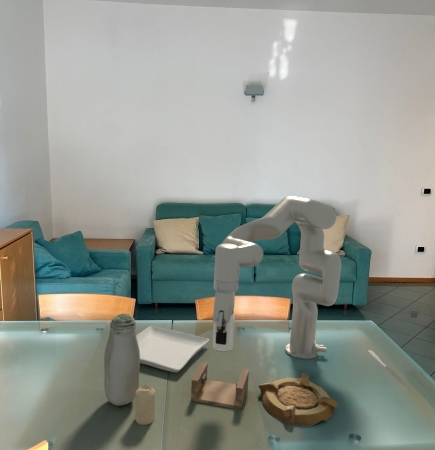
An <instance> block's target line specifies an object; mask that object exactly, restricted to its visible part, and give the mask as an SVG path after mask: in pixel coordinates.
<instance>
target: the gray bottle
mask: <svg viewBox="0 0 435 450" xmlns="http://www.w3.org/2000/svg"><path fill="white" fill-rule="evenodd" d="M109 328H110V329H109V330H110V331H109V334H108V335H109V336H108V339H107V343H106V346H105V349H104V355H103V360H104V362H103V364H104V365H103V368H104V369H103V371H104V372H103V373H104V377H103V378H104V379H103V381H104V392H105V396H106V399H107V400H108V402H110V404H112V405H115V406H117V407H118V406H121V407H122V406H125V405H128V404H130V403H132V402H133V400H134V399H135V397H136V391H137V390H138V389H139V388H140V366H141V365H140V364H141V363H140V350H139V346H138V341H137V338H136V335H137V323H136V319H135V318H134V317H133V316H132V315H131V314H129V313H122V314H118V315H115V316H114V317H113V318H112V319H111V321H110V325H109Z"/></svg>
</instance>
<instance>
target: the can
mask: <svg viewBox="0 0 435 450" xmlns="http://www.w3.org/2000/svg"><path fill="white" fill-rule="evenodd" d="M234 312H235V311H234ZM234 312H233V313H232V314H231V317H230V320H229V323H227V326H226V332H227V337H226V344H225V345H223V344H216V329H217V321H218V319H217V321H216V322H213V329H212V330H213V331H212V348H213V349H214V350H215V351H217V352H220V353H228V352H230V351H232V350H233V348H234V339H235V338H234V337H235V336H234V335H235V314H234ZM222 322H225V320H223V321H222ZM222 326H223V327H224V324H222Z"/></svg>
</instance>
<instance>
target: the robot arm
mask: <svg viewBox="0 0 435 450" xmlns="http://www.w3.org/2000/svg"><path fill="white" fill-rule="evenodd" d="M336 221H337V211H336V209H335V208H334V207H333V206H332V205H329V204H327V203H324V202H320V201H318V200H316V199H313V198H312V199H310V198H307V197H299V196H293V195H292V196H291V195H289V196H284V197H283V198H282V199H281V200H280V201H279V202H278V203H276V204H275V206H273V207H272V208H271V209H270V210H269V211H268V212H266V214H265V215H264V216H262V217H261V218H258V219H255V220H252V221H249V222H247V223H244V224H242V225H240V226H238V227H237V228H235V229H234V230H232V231H231V232H230V233H229V234H228V235H227V236H226V237H225V238H224V239H223V241H222V243H220V244H218V245H217V246H216V247H215V253H214V254H215V257H214V277H213V278H214V279H213V289H214V291H215V295H214V303H213V310H212V311H213V312H212V314H213V315H212V322H213V323H214V322H216V321H217V319H218V321H217V329H216V344H223V345H225V344H226V337H227V332H226V326H227V323H229V320H230V317H231V314H232V313H233V312H235V299H236V298H235V297H236V296H235V295H236V294H235V293H236V292H238V291H239V282H240V268H250V267H256V266H257V265H259V264H260V263H261V262H262V261H263V258H264V250H263V248H262V247H261V246H260V245H259V244H257V243H255V242H256V241H257V242H258V241H269V240H274V239H278V238H279V237H281V236H282V234H284V233H285V232H286V231H287V230H288V229H289V228H290V226H292V225H293V224H294V223H296V225H297V227H298V228H299V231H300V247H299V256H298V265H299V268H301V270H303V271H306V272H309V273H310V274H308V273H299V274H297V275H296V276H294V278H293V280H292V283H291V284H292V285H291V290H292V301H293V302H292V313H291V314H292V316H291V324H290V325H291V328H290V337H289V339H290V340H289V343H288V344H287V345H286V346H285V348H284V349H285V352H286V353H287V355H289V356H291V357H293V358H295V359H299V360H300V359H301V360H311V359H314V358H316V357H318V355H319V352H320V353H327V347H326V346H324V345H323V344H318V343H316V335H317V332H316V331H317V323H318V311H319V310H318V309H319V308H318V306H317V305H322V306H326V307H329V306H333V305H334V304H335V302H336V301H337V298H338V295H339V288H340V280H341V273H342V260H341V257H340V255H339V254H338V253H336V252H335V251H331V250H327V249H325V248H324V247H325V246H324V245H325V233H324V230H329V229H330V228H332V227H333V226H335V224H336ZM311 273H313V274H316V275H318V276H316V275H313V274H311ZM319 276H321V277H319ZM233 314H234V313H233ZM223 320H225V322H222V321H223ZM222 324H224V327H223V326H222Z"/></svg>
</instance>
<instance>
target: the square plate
mask: <svg viewBox="0 0 435 450" xmlns="http://www.w3.org/2000/svg"><path fill="white" fill-rule="evenodd" d="M136 338H137V341H138V346H139V350H140V364H143V365H146V366H151V367H153V368H156V369H159V370H161V371H162V370H163V371H167V372H171V373H174V374H175V373H178V372H180V371H181V370H182V369H183V368H184V367H185V366H186V365H187V363H189V362H190V360H191V359H192V358H193V357H194V356H196V354H198V352H200V351H201V350H202V349H203V348H204V347H205V346H206V345H207V344H208V343H209V342H210V339H209V338H207V337H202V336H199V335H196V334H192V333H191V334H190V333H187V332H182V331H178V330H173V329H169V328H163V327H158V326H155V325H149V326H148V327H147V328H144V329H143V330H142V331H140V332H139V333H137V334H136Z"/></svg>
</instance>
